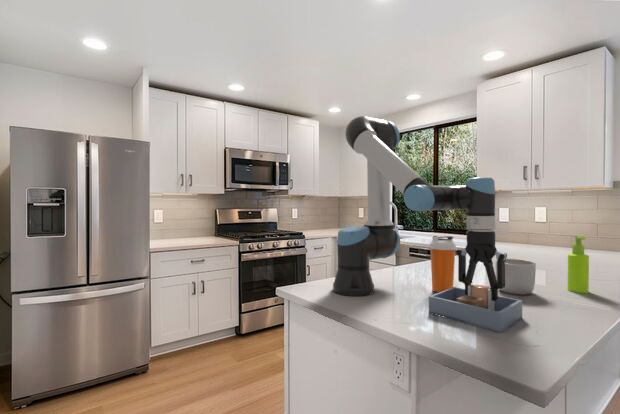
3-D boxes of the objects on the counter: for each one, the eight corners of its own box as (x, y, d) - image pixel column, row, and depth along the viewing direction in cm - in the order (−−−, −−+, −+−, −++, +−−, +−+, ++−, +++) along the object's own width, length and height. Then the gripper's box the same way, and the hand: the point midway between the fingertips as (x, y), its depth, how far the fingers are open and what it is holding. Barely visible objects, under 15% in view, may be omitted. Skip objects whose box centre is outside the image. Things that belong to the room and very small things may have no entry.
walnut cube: (457, 316, 94) (457, 298, 94) (464, 312, 97) (464, 295, 97) (475, 320, 90) (475, 302, 90) (482, 316, 93) (482, 298, 93)
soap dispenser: (571, 293, 117) (572, 236, 117) (565, 288, 124) (565, 234, 123) (592, 294, 115) (593, 237, 115) (584, 289, 122) (585, 235, 121)
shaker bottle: (458, 294, 117) (458, 237, 116) (431, 293, 118) (431, 237, 118) (452, 288, 125) (452, 235, 125) (427, 287, 127) (427, 234, 127)
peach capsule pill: (468, 310, 98) (468, 286, 98) (475, 306, 102) (475, 284, 101) (486, 314, 95) (486, 290, 94) (493, 310, 98) (493, 287, 98)
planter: (512, 286, 128) (512, 257, 127) (544, 294, 116) (544, 263, 116) (487, 289, 124) (487, 259, 124) (517, 298, 112) (517, 266, 112)
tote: (428, 313, 98) (428, 296, 98) (453, 302, 108) (453, 286, 108) (500, 332, 83) (501, 313, 83) (522, 318, 93) (522, 300, 93)
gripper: (445, 229, 102) (445, 304, 102) (509, 233, 88) (510, 320, 89) (456, 227, 107) (456, 299, 107) (519, 231, 93) (519, 313, 94)
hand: (481, 308), depth 98 cm, fingers closed on peach capsule pill, 5 cm apart
